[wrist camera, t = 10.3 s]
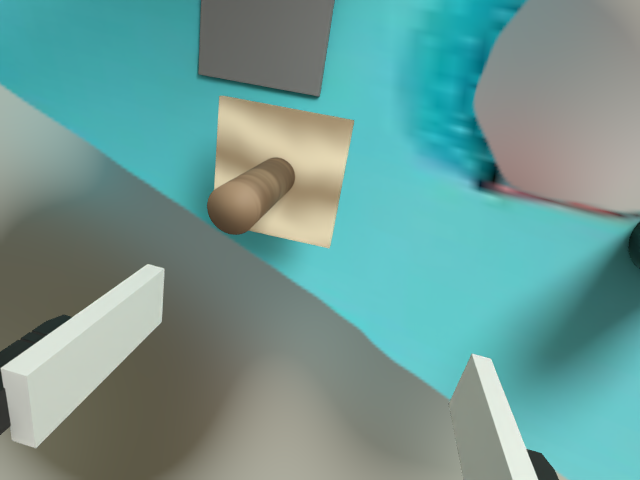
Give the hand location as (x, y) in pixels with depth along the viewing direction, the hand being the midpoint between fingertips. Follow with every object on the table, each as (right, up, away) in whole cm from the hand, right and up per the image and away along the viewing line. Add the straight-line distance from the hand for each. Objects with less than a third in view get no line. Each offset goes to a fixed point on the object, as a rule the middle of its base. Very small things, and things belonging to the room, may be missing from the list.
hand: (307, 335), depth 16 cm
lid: (-3, +10, +20) cm, 23 cm away
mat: (-5, +30, +23) cm, 38 cm away
